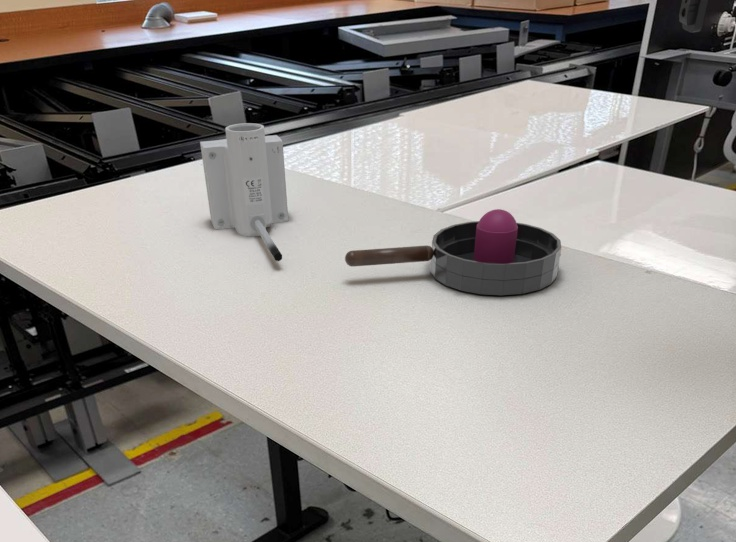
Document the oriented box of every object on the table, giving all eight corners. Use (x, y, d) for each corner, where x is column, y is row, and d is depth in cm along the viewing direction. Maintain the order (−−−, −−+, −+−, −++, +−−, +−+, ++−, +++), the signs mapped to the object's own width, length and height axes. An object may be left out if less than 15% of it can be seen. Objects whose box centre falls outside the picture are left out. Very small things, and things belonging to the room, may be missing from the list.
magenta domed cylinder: (505, 262, 101) (512, 202, 95) (517, 276, 96) (525, 215, 91) (468, 264, 100) (473, 205, 95) (478, 279, 96) (484, 218, 91)
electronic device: (282, 213, 121) (274, 113, 111) (321, 267, 102) (316, 152, 92) (210, 221, 118) (196, 120, 109) (236, 278, 99) (222, 161, 90)
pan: (531, 248, 106) (535, 217, 103) (574, 293, 93) (581, 259, 90) (419, 256, 104) (420, 224, 101) (447, 303, 91) (449, 268, 88)
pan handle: (431, 257, 97) (432, 242, 96) (435, 262, 95) (435, 247, 94) (344, 263, 96) (343, 248, 94) (346, 269, 94) (345, 254, 93)
